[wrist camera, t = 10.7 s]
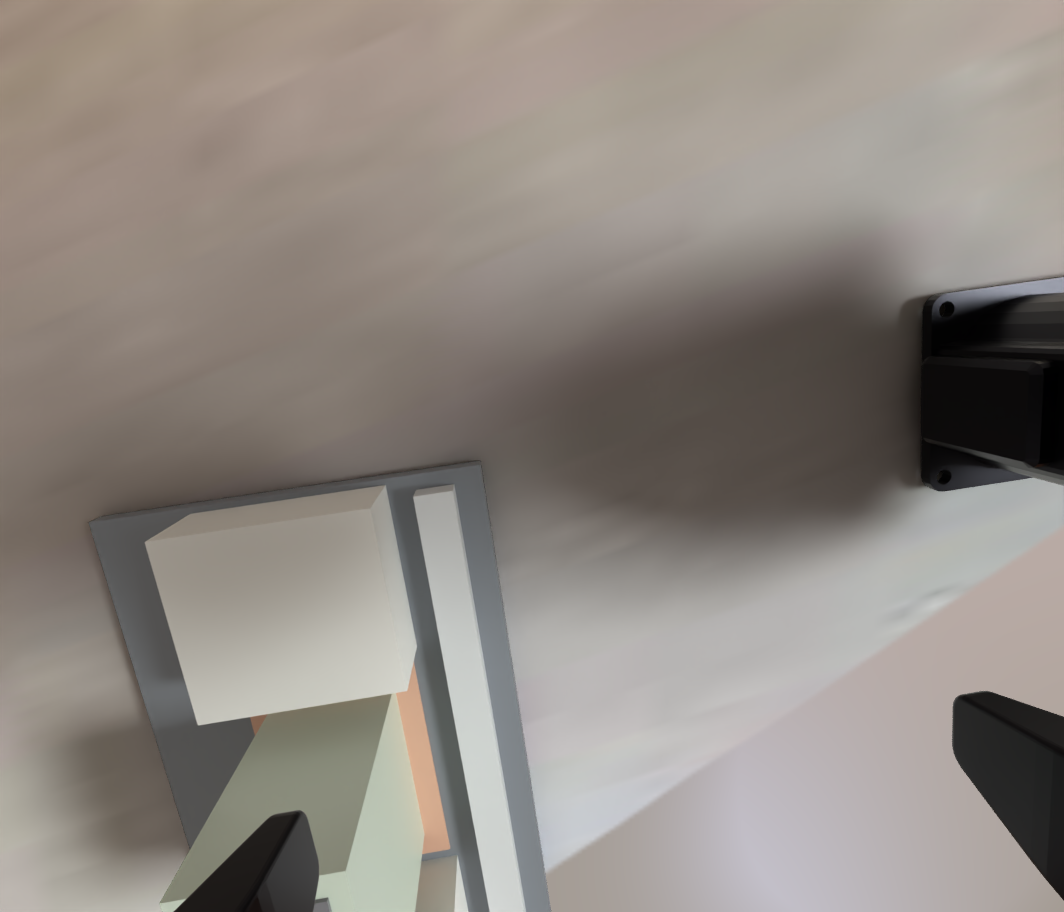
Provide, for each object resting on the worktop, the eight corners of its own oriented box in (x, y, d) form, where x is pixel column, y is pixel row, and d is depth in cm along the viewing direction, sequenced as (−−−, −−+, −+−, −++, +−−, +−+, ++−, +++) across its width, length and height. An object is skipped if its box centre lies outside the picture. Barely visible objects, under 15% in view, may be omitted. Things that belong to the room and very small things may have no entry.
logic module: (394, 684, 20) (344, 874, 13) (424, 833, 21) (394, 1080, 14) (273, 703, 20) (156, 907, 13) (311, 853, 21) (224, 1113, 14)
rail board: (480, 460, 19) (479, 484, 16) (557, 949, 23) (567, 1041, 20) (101, 516, 19) (26, 552, 16) (250, 1006, 23) (214, 1109, 20)
